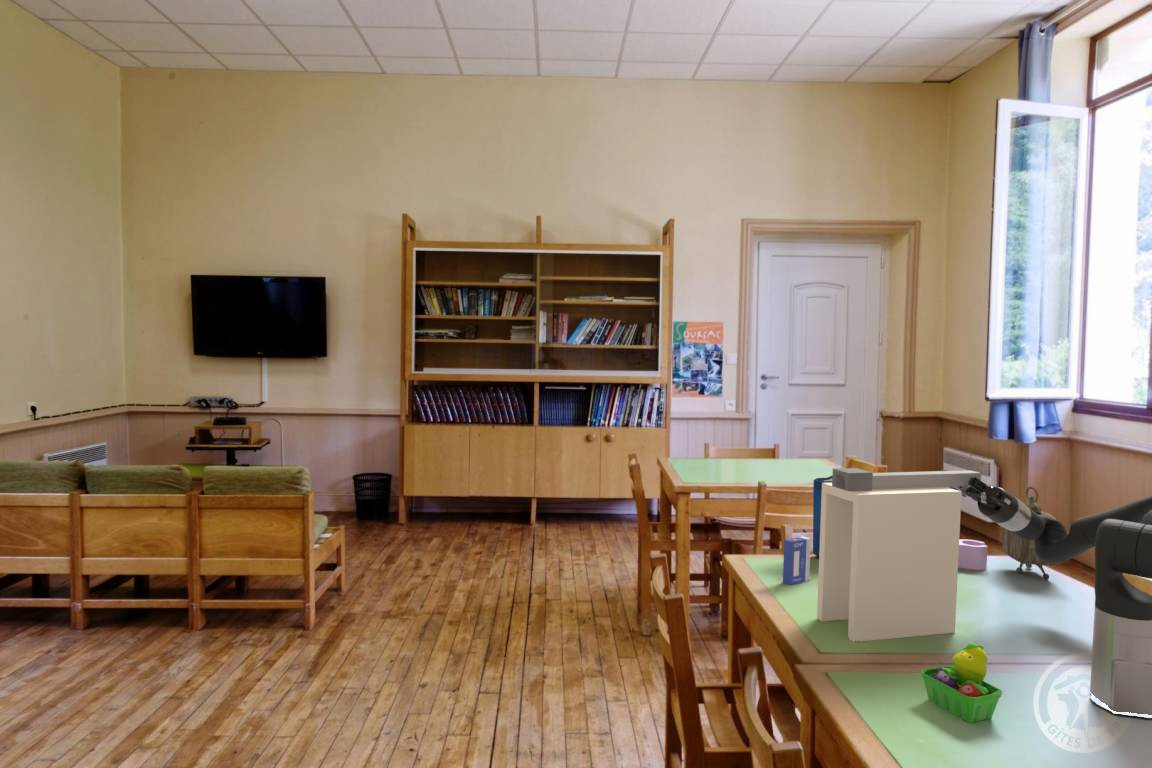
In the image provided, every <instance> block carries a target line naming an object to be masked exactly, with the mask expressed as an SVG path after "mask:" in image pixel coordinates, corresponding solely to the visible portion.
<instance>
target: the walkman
mask: <svg viewBox="0 0 1152 768" xmlns="http://www.w3.org/2000/svg"><path fill="white" fill-rule="evenodd" d="M811 540H812V539H811V537H807V536H803V535H802V536H797V537H793V538H792V537H791V538H787V539H786V538H785V539H784V540H783V567H782V583H785V584H787V585H789V586H793V585H796V584H800V583H805V582H808V581H810V566H811V565H810V564H811V543H812V541H811Z"/></svg>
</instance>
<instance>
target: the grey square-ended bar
mask: <svg viewBox="0 0 1152 768" xmlns="http://www.w3.org/2000/svg"><path fill="white" fill-rule="evenodd" d="M831 476H832V486H833V487H836V488H839V489H843V490H846V491H872V489H896V488H926V487H947V488H950V487H957V486H969V487H970V485H969V484H968V482H969V480H970V479H971V477H976V478H978V479H979V480H980V481H982V473H981V472H979V471H975V470H970V469H969V470H965V469H964V470H947V471H944V470H934V471H930V470H929V471H928V470H927V471H897V472H896V471H895V472H893V471H891V472H890V471H889V472H872V471H870V470H869V471H868V470H865V469H861V468H858V467H847V468H843V467H841V468H832V475H831Z"/></svg>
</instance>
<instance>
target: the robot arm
mask: <svg viewBox="0 0 1152 768" xmlns="http://www.w3.org/2000/svg"><path fill="white" fill-rule="evenodd" d="M943 471H948V470H946V469H944V470H943ZM968 484H969V485H970V486H957V487H949V488H950V489H954V490H958V491H962V493H961V497H963V498H969V499H970V500H972V501H973V502H975V503H977V507H978V510H979V512H980V513H981V514H982V515H984V516H985V517H987V518H988V519H990V520H991V521H993V522H994V523H996V524H997V525H999V526H1000V527H1002V529H1003V528H1006V529H1008V530H1009V531H1011V532H1012V533H1014V534H1015V535H1017V536H1018V537H1020V538H1022V539H1024V540H1028V541H1031V540H1034V544H1035V553H1036V555H1037V557H1038V558H1039V559H1040V560H1042V561H1044V562H1046V563H1053V564H1055V565H1056V564H1062V563H1065V562H1067V561H1070V560H1072V559H1074V558H1075V557H1077V556H1079V555H1081V554H1083V553H1085V552H1086V551H1089V550H1090V549H1093V548H1094V566H1095V567H1094V595H1095V597H1094V615H1093V616H1094V618H1093V629H1092V630H1093V631H1092V647H1091V648H1092V649H1091V665H1090V685H1089V686H1090V687H1089V693H1090V692H1091V693H1092V694H1093V695H1094V696H1095V697H1096V698H1098V699H1099V700H1100V701H1101V702H1103V703H1105V704H1106V705H1108V707H1109V708H1110V709H1111V710H1113V711H1116V712H1129V713H1130V712H1131V713H1137V714H1148V715H1152V595H1150V594H1148V593H1147V592H1145V591H1143V590H1141V589H1140V588H1138V587H1137V586H1135V585H1133V584H1132V583H1131V582H1130V581H1129V580H1128V579H1127V578H1126V577H1125V575H1124V574H1126V575H1130V576H1134V577H1135V576H1136V577H1140V578H1145V579H1152V494H1149V495H1146V496H1144V497H1141V498H1138V499H1135V500H1133V501H1130V502H1128V503H1126V504H1123V505H1121V506H1118V507H1115V508H1111V509H1109V510H1106V511H1103V512H1098V513H1094V514H1090V515H1086V516H1082V517H1079V518H1076V519H1074V520H1073V521H1071V522H1070V526H1069V530H1068V531H1067V529H1066V527H1065V525H1064V524H1063V523H1062V522H1061V521H1059V520H1057V519H1056V518H1055V519H1056V520H1055V519H1052V518H1048V517H1045V516H1042V515H1039V514H1037V513H1035V512H1034V511H1032V510H1031V509H1030V508H1028V507H1027V506H1026V505H1025V502H1022V501H1021V500H1020V499H1019V498H1017V497H1016V496H1014V495H1012V494H1011V493H1010V492H1008V491H1007V490H1005V488H1002V487H999V486H991V485H990V484H988V483H985V482H983V481H982V480H981V481H980V480H979V479H978V478H976V477H971V479H970V480H969V482H968Z"/></svg>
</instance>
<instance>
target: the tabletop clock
mask: <svg viewBox="0 0 1152 768" xmlns="http://www.w3.org/2000/svg"><path fill="white" fill-rule="evenodd" d="M1029 490H1033V491H1034V493H1035V495H1036V499H1035V498H1034V496H1029ZM1025 495H1026V498H1027V499H1028V501H1029V502H1024V504H1025V505H1026V506H1027V507H1028V508H1030V509H1031V510H1032V511H1034V512H1035V513H1037V514H1039V515H1042V516H1045V517H1048V518H1052V519H1055V520H1057V519H1056V518H1055V516H1053V515H1052V514H1050V513H1048V512H1046V511H1043V510H1042V508H1041V506H1040V505H1039V504H1038V503H1037V502H1038V500H1039V492H1038V490H1037V488H1035V487H1034V486H1028V487H1027V488H1026V490H1025ZM1001 537H1002V538H1001V540H1002V551H1003V552H1004V554H1006V555H1007V556H1008V557H1010V558H1011V559H1012V560H1015V561H1016V562H1018V563H1020V564H1019V566H1018V567H1016V572H1017V573H1018V574H1022V573H1023V565H1025V567H1026V568H1027V569H1032V567H1033V565H1034V566H1037V567H1038V568H1039V570H1040V571H1041V572H1042V578H1043V579H1044V580H1049V579H1050V575H1049V574H1048V573H1046V572H1045V569H1044V567H1043V566H1050V567H1051V566H1052V567H1053V566H1055V565H1056V563H1055V564H1053V563H1046V562H1044V561H1042V560H1040V559H1039V558H1038V557H1037V555H1036V553H1035V544H1034V540H1031V541H1028V540H1024V539H1022V538H1020V537H1018V536H1017V535H1015V534H1014V533H1012V532H1011V531H1009V530H1008V529H1006V528H1003V527H1002V536H1001Z"/></svg>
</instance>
